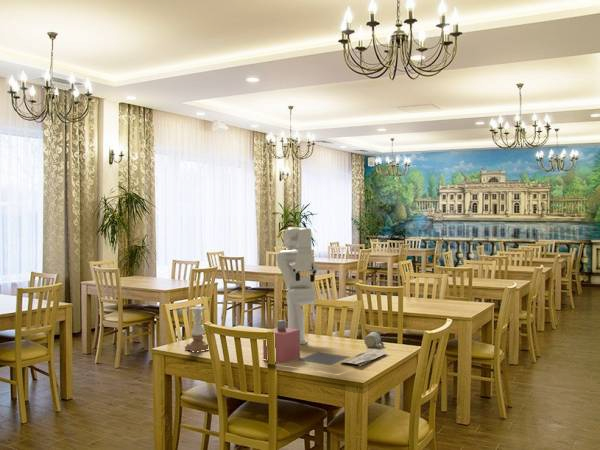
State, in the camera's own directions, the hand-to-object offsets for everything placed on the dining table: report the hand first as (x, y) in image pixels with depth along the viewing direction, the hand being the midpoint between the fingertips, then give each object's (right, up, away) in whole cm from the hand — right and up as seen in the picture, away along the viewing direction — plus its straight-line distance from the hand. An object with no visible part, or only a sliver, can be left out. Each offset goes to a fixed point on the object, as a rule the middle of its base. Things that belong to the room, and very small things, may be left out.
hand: (305, 281), depth 326 cm
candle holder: (-60, -39, +4) cm, 72 cm away
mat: (+10, -38, -22) cm, 45 cm away
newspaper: (+31, -39, -23) cm, 55 cm away
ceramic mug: (+40, -38, +8) cm, 56 cm away
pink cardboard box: (-12, -39, -20) cm, 45 cm away
